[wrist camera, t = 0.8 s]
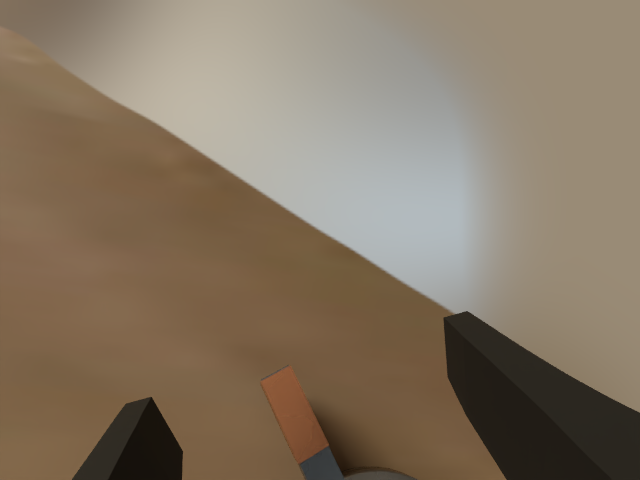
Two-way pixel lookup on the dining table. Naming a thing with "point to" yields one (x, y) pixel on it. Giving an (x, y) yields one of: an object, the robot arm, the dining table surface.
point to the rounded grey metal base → (374, 474)
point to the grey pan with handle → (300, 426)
